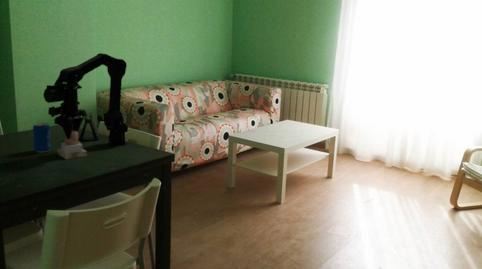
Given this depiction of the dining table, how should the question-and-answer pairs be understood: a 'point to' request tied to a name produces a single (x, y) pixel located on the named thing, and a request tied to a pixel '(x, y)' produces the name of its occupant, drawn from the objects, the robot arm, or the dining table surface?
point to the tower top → (71, 148)
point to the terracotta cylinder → (72, 138)
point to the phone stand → (93, 128)
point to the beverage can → (41, 137)
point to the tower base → (71, 154)
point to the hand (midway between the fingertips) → (71, 136)
